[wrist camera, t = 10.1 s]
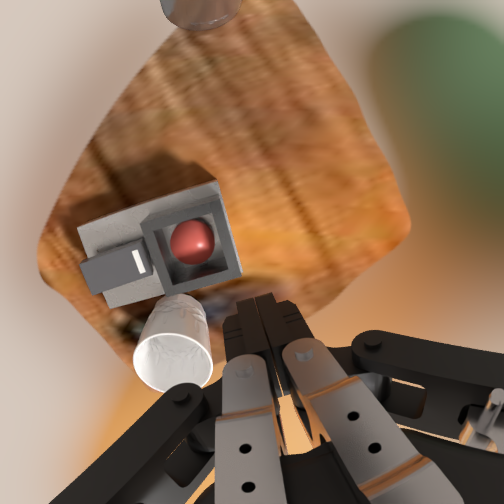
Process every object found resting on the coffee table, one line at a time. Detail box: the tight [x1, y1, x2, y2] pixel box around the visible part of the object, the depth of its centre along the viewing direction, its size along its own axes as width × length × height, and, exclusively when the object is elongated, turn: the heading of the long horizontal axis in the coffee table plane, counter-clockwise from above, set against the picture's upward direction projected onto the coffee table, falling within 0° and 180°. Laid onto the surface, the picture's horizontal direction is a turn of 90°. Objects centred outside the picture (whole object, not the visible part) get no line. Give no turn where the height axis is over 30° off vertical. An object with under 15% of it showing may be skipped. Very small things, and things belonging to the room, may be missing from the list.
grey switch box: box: [77, 179, 243, 309], centre depth 30 cm, size 10×16×7 cm, turn 104°
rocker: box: [79, 239, 154, 296], centre depth 29 cm, size 4×7×2 cm, turn 104°
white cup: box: [133, 294, 213, 393], centre depth 32 cm, size 8×8×10 cm
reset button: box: [170, 218, 215, 265], centre depth 30 cm, size 4×4×1 cm
